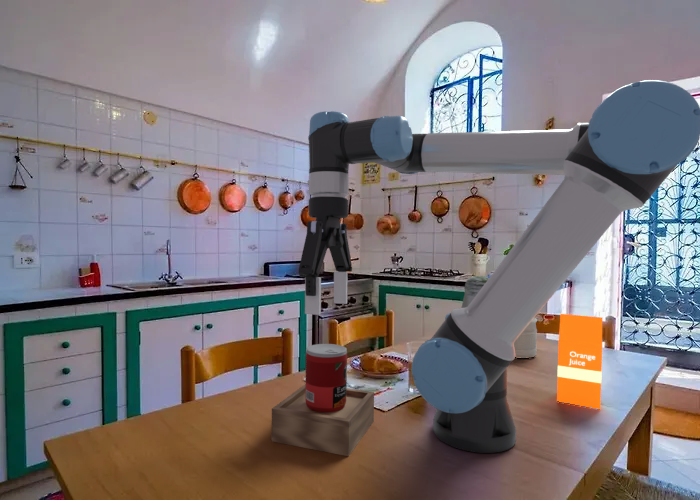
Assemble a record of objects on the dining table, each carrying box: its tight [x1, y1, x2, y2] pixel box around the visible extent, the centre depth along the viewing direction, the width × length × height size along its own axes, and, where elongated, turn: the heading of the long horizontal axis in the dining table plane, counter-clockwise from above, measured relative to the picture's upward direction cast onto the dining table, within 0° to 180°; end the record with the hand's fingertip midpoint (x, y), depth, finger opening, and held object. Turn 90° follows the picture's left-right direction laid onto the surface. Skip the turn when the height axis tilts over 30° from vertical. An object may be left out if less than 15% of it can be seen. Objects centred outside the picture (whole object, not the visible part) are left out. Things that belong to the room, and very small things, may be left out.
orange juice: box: [556, 313, 603, 410], centre depth 100 cm, size 8×9×20 cm
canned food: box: [305, 343, 348, 412], centre depth 82 cm, size 8×8×11 cm
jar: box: [514, 316, 538, 358], centre depth 140 cm, size 13×13×18 cm
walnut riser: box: [270, 383, 375, 457], centre depth 83 cm, size 15×15×6 cm
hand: (327, 308), depth 82 cm, fingers open, 13 cm apart
